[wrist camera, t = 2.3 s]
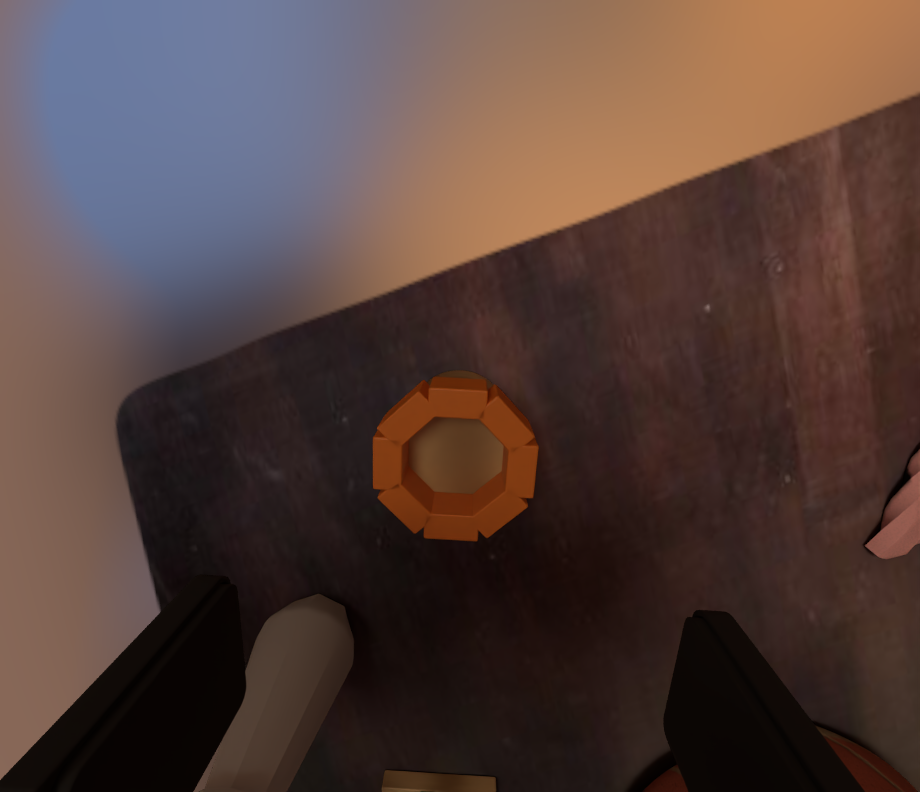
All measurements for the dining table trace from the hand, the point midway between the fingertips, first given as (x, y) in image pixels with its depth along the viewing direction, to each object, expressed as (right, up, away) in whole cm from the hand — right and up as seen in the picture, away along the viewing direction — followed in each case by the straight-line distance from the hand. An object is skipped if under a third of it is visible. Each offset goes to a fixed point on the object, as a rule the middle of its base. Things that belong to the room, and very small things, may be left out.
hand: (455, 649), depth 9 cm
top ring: (0, +3, +10) cm, 11 cm away
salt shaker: (-9, -9, +19) cm, 23 cm away
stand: (0, +4, +15) cm, 16 cm away
